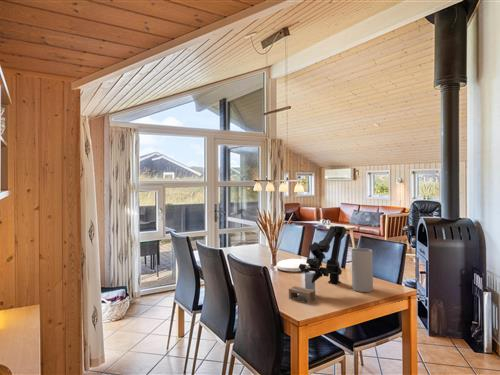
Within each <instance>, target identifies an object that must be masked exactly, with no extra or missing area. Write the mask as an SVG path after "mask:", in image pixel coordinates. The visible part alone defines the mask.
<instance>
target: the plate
mask: <svg viewBox="0 0 500 375" xmlns="http://www.w3.org/2000/svg"><path fill="white" fill-rule="evenodd" d="M306 261H307V259H302V258H289V259H282V260H280V261H278V262H277V263H276V268H277V269H279V270H280V271H284V272H297V273H298V272H302V271H301V270H300V268H299V265H300V264H305V265H306V266H307V267H310V266H309V264H308V263H306Z"/></svg>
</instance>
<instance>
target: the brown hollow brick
mask: <svg viewBox="0 0 500 375" xmlns="http://www.w3.org/2000/svg"><path fill="white" fill-rule="evenodd" d="M299 294H302V295H306V296H307V300H306V299H302V298H298V295H299ZM316 297H317V296H316V289H315V290H311V289H307V288H305V287H301V286H297V285H294V286H292V287H290V288H288V299H292V300H295V301H299V302H303V303H306V304H311V303H312V302H314V301H316Z"/></svg>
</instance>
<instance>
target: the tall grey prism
mask: <svg viewBox="0 0 500 375" xmlns="http://www.w3.org/2000/svg"><path fill="white" fill-rule="evenodd" d="M314 275H315V272H312V271H309V272H307V273H305V272H304V285H305V286H304V288H307V289H311V290H315V291H316V281H315V282H314V283H312V279H313V277H314ZM297 295H298V297H297V298H301V299H305V300H307V296H306V295H302V294H297Z"/></svg>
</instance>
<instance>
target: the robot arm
mask: <svg viewBox="0 0 500 375" xmlns="http://www.w3.org/2000/svg"><path fill="white" fill-rule="evenodd" d="M346 233H347V229H346V227H345V226H344V225H342V226H341V225H339V226H338V225H334V226H333V225H331V226H329V229H328V230H327V233H326V234H325V236H324V238H323V239H322V240H320V241H318V242H316V241H315V242H313V243H312V244H310V245H309V246H308V249H309V251H310V253H311V255H312V256H313V258H312V257H311V258H310V257H307V258H306V260H307V261H306V263H308V264H309V266H310V267H307V266H306V265H305V264H300V265H299V268H300V270H301V271H300V272H302V273H304V274H305V273H307V272H314V273H315V275H314V277H313V279H312V283H314V282H315V283H316V281H317V280H318V279H320V278H322V277H329V281H327V283H328V284H332V285H338V284H340V283H342V281H341V280H340V275H342V273H343V272H342V271H343V270H342V268H341V267H340V264H341V263H340V262H339V257H340V250H341V245H342V239H343V238H344V237H345V236H346ZM332 241H333V244H332V248H331V243H332ZM330 248H331V255H330V258H329V259H327V260H326V265H325V267H323V261H324V259H326V255H325V253H326V254H327V253H329V251H330Z"/></svg>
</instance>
